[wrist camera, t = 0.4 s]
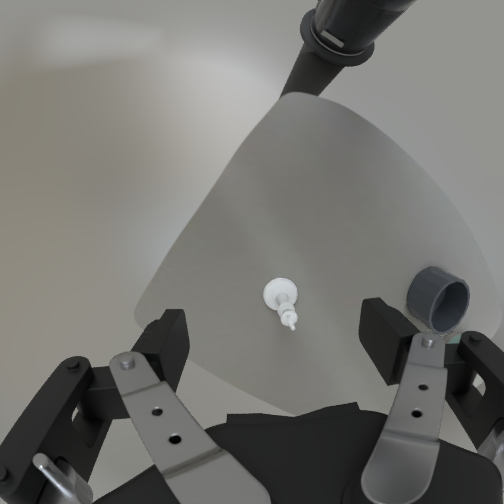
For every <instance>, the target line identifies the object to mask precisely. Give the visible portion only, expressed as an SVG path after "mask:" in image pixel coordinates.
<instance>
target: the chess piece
mask: <svg viewBox="0 0 504 504" xmlns="http://www.w3.org/2000/svg"><path fill="white" fill-rule="evenodd" d="M263 298H264V301H265V303H266V304H267V305H268V307H270V308H271V309H273V310H276V311H278V314H279V315H280V316H281V322H282V324H283V325H285V326H290V328H291V330H292V331H293V330H295V327H294V324H295V323H296V322H297V319H298V316H297V314H296V313H295V312H294V311H295V308H294V306H293V305H294V303H295V302H296V300H297V288H296V286H295V284H294V283H293V282H292V281H291V280H289V279H286V278H276V279H273V280H272V281H270V282H269V283H268V284H267V285H266V286H265V288H264V291H263Z"/></svg>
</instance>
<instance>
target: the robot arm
mask: <svg viewBox="0 0 504 504" xmlns="http://www.w3.org/2000/svg"><path fill="white" fill-rule="evenodd" d="M416 1H417V0H318V3H317V6H316V8H315V10H314V16H313V17H312V20H311V22H310V31H311V34H312V36H313V38H314V39H315V40H316V42H317V43H318V44H319V45H320V46H322V47H323V48H324V49H326V50H327V51H329V52H331V53H333V54H336V55H339V56H344V57H354V56H358V55H360V54H362V53H363V52H364V51H365V50H366V49H367V47H368V46H369V45H370V44H371V43H372V42H373V41H374V40H375V39H376V38H377V37H378V36H379V35H380V34H382V32H384V30H386V29H387V28H388V27H389V26H390V25H391V24H392V23H393V22H394V21H395V20H396V19H397V18H398V17H399V16H400V15H402V14H403V13H404V12H405V11H406V10H407V9H408V8H409V7H410V6H411V5H412V4H413V3H414V2H416ZM359 339H360V342H361V344H362V345H363V347H364V348H365V350H366V352H367V353H368V355H369V356H370V358H371V360H372V361H373V363H374V364H375V366H376V368H377V369H378V371H379V373H380V374H381V376H382V377H383V379H384V381H385V382H386V384H387V386H389V385H394V384H399V387H398V390H397V393H396V396H395V399H394V402H393V405H392V407H391V410H390V413H389V415H386V414H383V413H379V412H375V411H367V410H360V409H359V407H358V404H357V402H353V403H348V404H342V405H336V406H330V407H325V408H322V409H319V410H316V411H313V412H310V413H307V414H304V415H300V416H296V417H288V416H278V415H270V414H262V413H253V414H227V421H226V423H223V424H219V425H216V426H212V427H209V428H207V429H205V430H204V429H203V428H202V427H201V426H200V424H199V423H198V422H197V421H196V420H195V418H194V417H193V416H192V415H191V414H190V412H189V411H188V410H187V408H186V407H185V406H184V405H183V403H182V402H181V401H180V399H179V398H178V397H177V396H176V394H175V393H176V389H177V386H178V383H179V380H180V377H181V374H182V371H183V368H184V366H185V363H186V360H187V357H188V354H189V348H190V343H189V336H188V330H187V324H186V318H185V313H184V310H183V309H166V310H165V312H164V314H163V315H162V317H161V318H160V320H154V321H153V322H151V323H150V324H148V325H147V327H146V328H145V330H144V332H143V333H142V335H141V336H140V338H139V339H138V340H137V342H136V343H135V345H134V346H133V348H132V350H131V351H130V352H124V353H120V354H118V355H116V356H115V357H113V358H112V359H111V361H110V363H109V366H105V367H94V368H92V367H91V365H90V362H89V360H88V359H87V358H85V357H82V356H75V357H70V358H68V359H66V360H64V361H63V362H61V364H59V366H58V367H57V368H56V369H55V371H54V372H53V373H52V374H51V376H50V377H49V378H48V380H47V381H46V382H45V383H44V385H43V386H42V387H41V389H40V390H39V391H38V392H37V394H36V395H35V397H34V398H33V399H32V400H31V402H30V403H29V405H28V406H27V407H26V409H25V410H24V411H23V413H22V415H21V416H20V417H19V418H18V420H17V422H16V423H15V424H14V426H13V427H12V429H11V430H10V432H9V433H8V435H7V436H6V438H5V439H4V441H3V442H2V444H1V445H0V497H1V498H2V499H3V500H4V501H5V502H7V503H8V504H503V497H502V495H503V492H504V352H503V351H502V350H500V348H498V347H497V346H496V345H495V344H494V343H493V342H492V341H491V340H490V339H489V338H487V337H486V336H485V335H484V334H482V333H479V332H476V331H466V332H464V333H463V334H462V335H461V338H460V341H459V343H451V344H445V341H444V339H443V338H442V337H441V336H439V335H438V334H435V333H432V332H420V331H419V330H418V329H417V328H416V327H415V326H414V325H413V324H412V323H411V322H410V321H409V320H408V319H407V318H406V317H404V315H403V314H402V313H401V312H400V311H399V310H397V309H395V308H393V307H391V306H388V305H387V304H386V303H385V302H384V301H383V300H382V299H381V298H379V297H378V298H369V299H364V300H363V302H362V307H361V316H360V324H359ZM477 374H478V375H479V376H480V377H481V378H482V379H483V381H484V382H485V386H486V390H485V393H484V395H483V396H482V395H481V394H480V392H479V391H478V390H477V388H476V387H475V386H474V385H473V382H474V380H475V378H476V376H477ZM444 400H446V401H447V403H448V404H449V406H450V407H451V409H452V410H453V412H454V414H455V415H456V416H457V418H458V420H459V421H460V423H461V425H462V426H463V428H464V429H465V431H466V433H467V434H468V436H469V437H470V439H471V441H472V443H473V444H474V446H475V448H476V449H477V451H478V452H477V453H474V452H471V451H469V450H466V449H464V448H461V447H458V446H456V445H453V444H451V443H448V442H446V441H443V440H441V439H439V438H438V437H439V431H440V426H441V420H442V415H443V408H444ZM76 407H77V409H78V412H77V414H76V416H75V418H74V420H73V421H72V414H73V412H74V410H75V408H76ZM124 418H131V420H132V422H133V424H134V426H135V428H136V430H137V432H138V434H139V436H140V437H141V440H142V442H143V444H144V445H145V447H146V449H147V451H148V453H149V454H150V456H151V458H152V460H153V462H154V463H155V464H154V465H152V466H151V467H149V468H148V469H146V470H145V471H143V472H142V473H140V474H139V475H137V476H136V477H134V478H133V479H131V480H129V481H128V482H126V483H125V484H123V485H121V486H120V487H118V488H116V489H115V490H113V491H111V492H109V493H108V494H106V495H104V496H102V497H101V498H99V499H98V500H96V501H95V502H93V503H92V500H93V493H92V490H91V487H90V486H89V485H88V481H89V478H90V475H91V473H92V470H93V467H94V465H95V462H96V459H97V457H98V454H99V452H100V449H101V447H102V444H103V442H104V439H105V437H106V435H107V432H108V430H109V427H110V425H111V423H112V420H113V419H124Z"/></svg>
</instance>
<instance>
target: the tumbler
mask: <svg viewBox="0 0 504 504" xmlns="http://www.w3.org/2000/svg"><path fill="white" fill-rule="evenodd" d="M469 299H470V292H469V286H468V285H467V283H466V282H465V281H464V280H463V279H461V278H459V277H457V276H455V275H453V274H450V273H448V272H446V271H444V270H442V269H439V268H437V267H429V268H426V269H424V270H423V271H421V272H420V273H419V274H418V275H417V276H416V277H415V279H414V280H413V282H412V284H411V286H410V288H409V291H408V296H407V305H408V309H409V311H410V312H411V314H412V315H414V316H415V317H416V318H417V319H418V320H420V321H421V322H422V323H423V324H424V325H426V326H427V327H428V328H429V329H431V330H432V331H433V332H434V333H435V334H442V335H443V334H446V333H448V332H450V331H452V330H453V329H454V328H455V327H456V326H457V325H458V324H459V323H460V321H461V320H462V318H463V317H464V315H465V313H466V310H467V308H468V305H469Z"/></svg>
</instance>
